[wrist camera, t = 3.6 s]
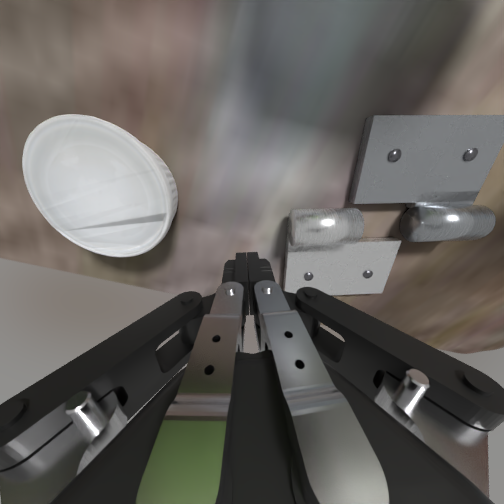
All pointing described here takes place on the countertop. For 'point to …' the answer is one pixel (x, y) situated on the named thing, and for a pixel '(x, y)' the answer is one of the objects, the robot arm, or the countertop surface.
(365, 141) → the fixed leaf
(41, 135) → the ramekin
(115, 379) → the robot arm
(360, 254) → the loose leaf
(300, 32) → the countertop surface
